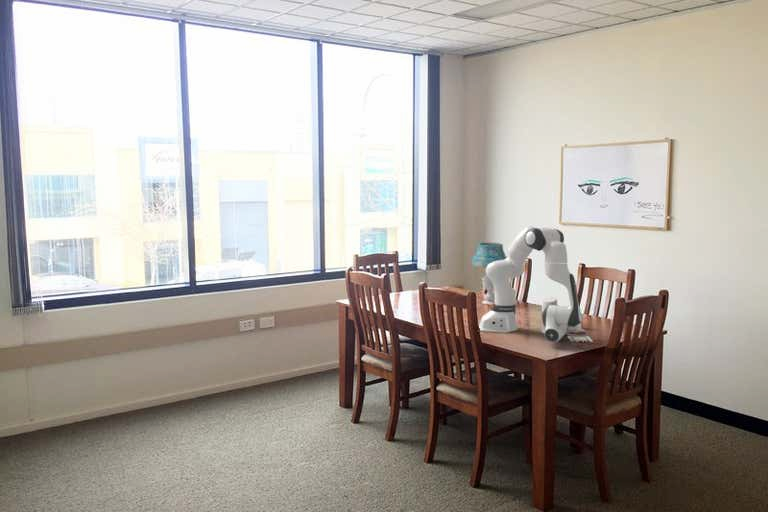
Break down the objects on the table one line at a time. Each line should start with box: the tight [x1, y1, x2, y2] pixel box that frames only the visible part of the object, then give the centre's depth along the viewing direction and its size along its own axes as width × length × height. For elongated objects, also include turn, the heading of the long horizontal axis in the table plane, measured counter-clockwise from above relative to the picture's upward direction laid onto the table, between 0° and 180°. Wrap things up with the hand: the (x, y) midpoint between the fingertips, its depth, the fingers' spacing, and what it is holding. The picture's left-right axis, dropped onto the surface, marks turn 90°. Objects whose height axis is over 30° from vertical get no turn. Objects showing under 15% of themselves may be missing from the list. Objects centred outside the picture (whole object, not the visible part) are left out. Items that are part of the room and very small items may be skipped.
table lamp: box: [471, 242, 508, 306], centre depth 420 cm, size 24×24×40 cm
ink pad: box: [568, 328, 587, 335], centre depth 345 cm, size 9×7×1 cm
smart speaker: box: [540, 296, 558, 318], centre depth 371 cm, size 10×9×14 cm
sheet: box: [567, 335, 594, 343], centre depth 332 cm, size 11×10×1 cm
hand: (563, 322), depth 340 cm, fingers closed on stamp, 3 cm apart
